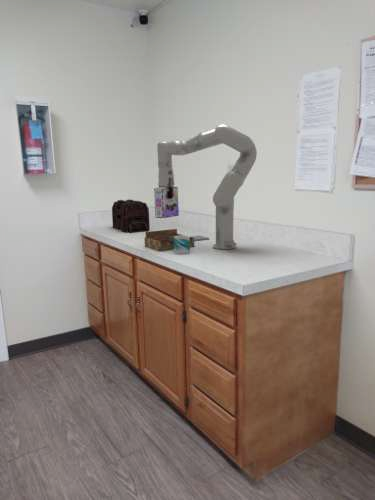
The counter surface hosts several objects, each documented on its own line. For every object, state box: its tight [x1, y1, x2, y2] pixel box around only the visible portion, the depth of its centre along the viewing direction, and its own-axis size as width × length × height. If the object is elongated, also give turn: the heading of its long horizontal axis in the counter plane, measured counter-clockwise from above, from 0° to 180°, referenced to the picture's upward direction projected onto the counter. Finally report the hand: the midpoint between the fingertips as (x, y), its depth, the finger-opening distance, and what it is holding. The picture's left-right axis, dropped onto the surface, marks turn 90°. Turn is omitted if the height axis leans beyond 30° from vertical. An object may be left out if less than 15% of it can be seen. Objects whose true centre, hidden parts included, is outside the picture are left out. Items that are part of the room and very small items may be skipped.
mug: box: [174, 235, 191, 255], centre depth 207 cm, size 8×12×8 cm
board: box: [190, 235, 210, 242], centre depth 242 cm, size 11×19×1 cm, turn 122°
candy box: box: [154, 186, 180, 219], centre depth 220 cm, size 14×6×16 cm, turn 142°
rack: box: [143, 228, 195, 252], centre depth 222 cm, size 18×22×8 cm
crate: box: [111, 199, 151, 234], centre depth 289 cm, size 35×19×21 cm, turn 28°
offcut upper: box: [167, 234, 183, 244], centre depth 216 cm, size 3×8×4 cm, turn 121°
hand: (166, 198), depth 219 cm, fingers closed on candy box, 7 cm apart
